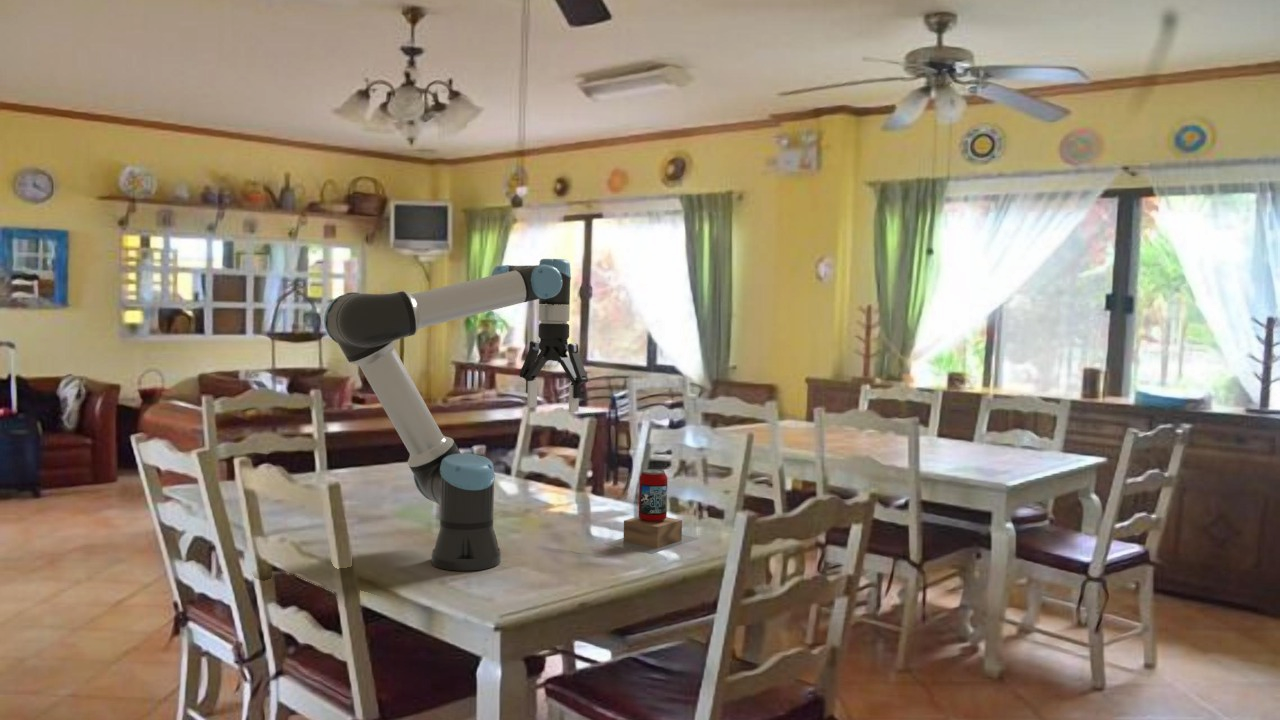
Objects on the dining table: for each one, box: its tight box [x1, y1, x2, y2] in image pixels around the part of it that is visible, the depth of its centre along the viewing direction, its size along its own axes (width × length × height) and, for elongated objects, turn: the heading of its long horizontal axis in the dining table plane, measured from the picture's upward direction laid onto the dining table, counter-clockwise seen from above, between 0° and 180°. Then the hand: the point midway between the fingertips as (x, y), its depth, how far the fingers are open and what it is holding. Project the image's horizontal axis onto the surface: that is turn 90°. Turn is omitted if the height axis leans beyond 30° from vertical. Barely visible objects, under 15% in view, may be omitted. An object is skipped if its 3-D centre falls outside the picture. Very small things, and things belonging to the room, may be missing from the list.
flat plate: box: [603, 534, 701, 555], centre depth 244 cm, size 20×14×1 cm
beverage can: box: [638, 468, 668, 523], centre depth 243 cm, size 7×7×12 cm
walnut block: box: [623, 516, 683, 548], centre depth 244 cm, size 10×10×5 cm
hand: (552, 409), depth 248 cm, fingers open, 13 cm apart
